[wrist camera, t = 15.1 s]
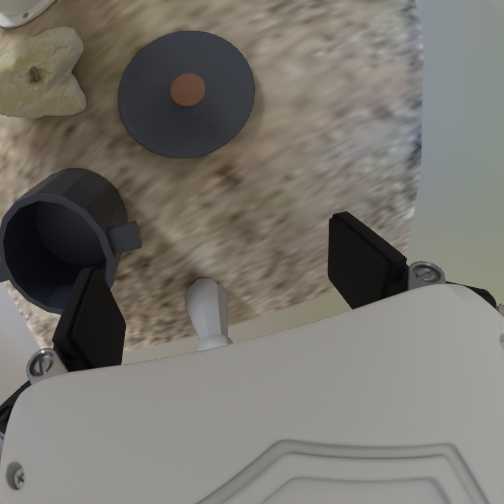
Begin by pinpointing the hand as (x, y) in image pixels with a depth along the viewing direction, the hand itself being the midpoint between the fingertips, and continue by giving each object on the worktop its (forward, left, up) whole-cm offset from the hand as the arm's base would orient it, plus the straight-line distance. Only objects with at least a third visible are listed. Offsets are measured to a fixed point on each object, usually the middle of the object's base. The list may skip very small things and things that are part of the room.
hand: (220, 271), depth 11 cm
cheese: (-14, -18, -23) cm, 32 cm away
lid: (-8, 0, -23) cm, 24 cm away
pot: (+4, -16, -23) cm, 28 cm away
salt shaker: (+18, -2, -23) cm, 30 cm away
